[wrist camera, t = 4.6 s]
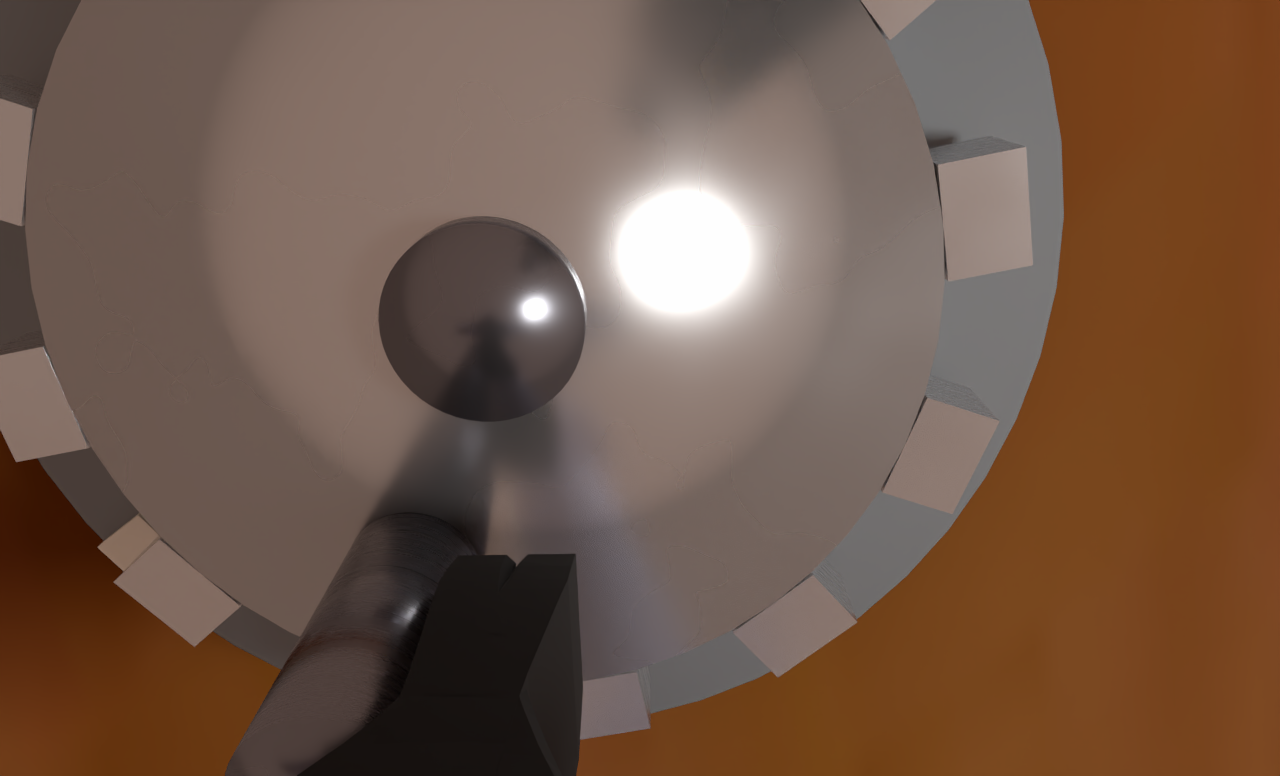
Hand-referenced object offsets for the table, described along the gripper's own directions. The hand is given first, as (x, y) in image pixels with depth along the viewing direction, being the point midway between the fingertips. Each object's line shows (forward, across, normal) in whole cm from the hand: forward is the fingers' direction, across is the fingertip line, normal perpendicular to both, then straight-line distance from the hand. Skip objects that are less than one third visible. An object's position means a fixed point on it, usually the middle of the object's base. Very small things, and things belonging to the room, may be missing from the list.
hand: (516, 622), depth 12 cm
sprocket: (+2, 0, -4) cm, 4 cm away
